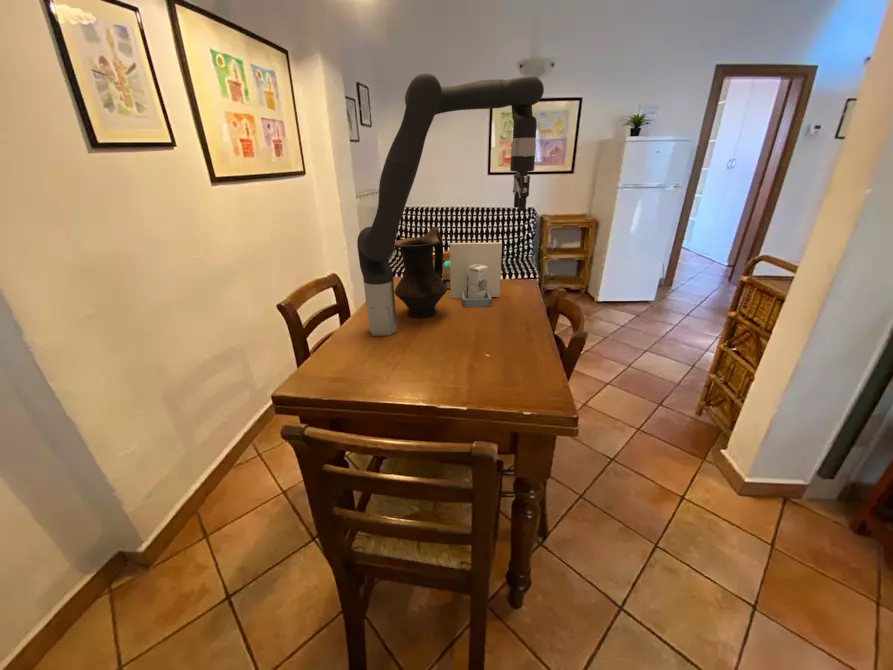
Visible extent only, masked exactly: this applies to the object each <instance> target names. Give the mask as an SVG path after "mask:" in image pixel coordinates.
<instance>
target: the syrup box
mask: <svg viewBox="0 0 893 670" xmlns="http://www.w3.org/2000/svg"><path fill="white" fill-rule="evenodd" d="M487 269H488V267H487V266H484V265H480V264H475V265H472V266H469V267H467V293H466V298H465V299H478V298H486V289H487Z"/></svg>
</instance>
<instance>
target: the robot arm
mask: <svg viewBox="0 0 893 670" xmlns="http://www.w3.org/2000/svg"><path fill="white" fill-rule="evenodd" d="M544 90H545V89H544V83H543V82H542V80H541V79H539V77H536V76H522V77H515V78H510V79H509V78H508V79H484V80H483V79H482V80H476V81H472V82H468V83H462V84H458V85H453V86H452V85H451V86H449V85H448V86H441V83H440V81H439V80H438V78H437V77H436V76H435V75H433V74H432V73H429V72H424V73H420V74H418V75H417V76H415V77H414V78H413V79H412V81H410V83H409V85H408V87H407V89H406V92H405V96H404V103H405V110H404V115H403V118H402V121H401V124H400V127H399V129H398V131H397V133H396V135H395V138H394V139H393V142H392V144H391V146H390V148H389V151H388V153H387V156H386V158H385V162H384V164H383V168H382V170H381V174H380V179H379V185H378V187H379V188H378V204H377V209H376V214H375V216H374V220H373V222H372V225H371V226H366V227H365V228H363V229H362V230H361V231H360V232H359V234H358V236H357V242H356V244H357V246H356V247H357V252H358V253H357V254H358V260H359V267H360V271H361V274H362V280H363V288H364V296H365V297H364V298H365V306H366V313H367V315H366V316H367V322H368V331H369V333H370V334H371V336H376V337H377V336H378V337H379V336H384V337H385V336H392V334H394V333H396V332H397V331H398V325H397V324H398V322H397V311H396V309H397V308H396V299H395V298H396V297H395V296H396V295H395V284H394V274H393V269H392V267H391V264H390V262H389V257H390V256H391V255H392V254H393V251H394V249H395V247H394V245H395V242H396V241H397V236H398V231H399V228H400V222H401V218H402V216H403V214H404V210H405V207H406V204H407V201H408V199H409V196H410V194H411V191H412V187H413V184H414V183H415V182H414V181H415V179H416V176H417V172H418V169H419V167H420V166H419V165H420V162H421V158H422V154H423V152H424V151H423V150H424V146H425V142H426V139H427V135H428V132H429V129H430V128H431V125H432V122H433V121H434V118H435V116H436V115H439V114H443V113H444V114H445V113H449V112H456V111H466V110H467V111H468V110H469V111H471V110H488V109H489V110H491V109H503V108H507V107H511V114H512V120H513V126H512V141H511V146H510V149H511V150H510V162H509V163H510V165H509V166H510V167H509V170H510V172H515V173H514V175H513V189H512V193H513V196H514V198H513V207H514V208H515V209H516V208H518V211H520V212H524V211H526V209H527V208H526V207H527V198H528V197H529V195H530V179H531V176H530V175H528V172H533V171H534V170H535V163H536V150H537V142H536V140H537V139H536V137H537V126H538V125H537V124H538V123H537V122H538V121H537V118H536V117H535V116H533V106H534V105H536V104H538V103H539V102H540V100H541V99H542V97H543V95H544Z"/></svg>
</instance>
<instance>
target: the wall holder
mask: <svg viewBox="0 0 893 670" xmlns="http://www.w3.org/2000/svg"><path fill="white" fill-rule="evenodd" d="M502 251H503V242H501V241H497V242H496V241H495V242H494V241H493V242H491V241H490V242H450V243H449V260H450V291H449V293H450V297H451V298H450V299H461V304H462V308H473V307H474V308H478V307H480V308H481V307H482V308H484V307H486V306H487V307H488V306H491V307H492V301H493V300H492V299H493V298H491V297H499V298H500V295H501V294H500V293H501V272H502V253H503V252H502ZM475 264H480V265H484V266H487V267H488V269H487V289H486V298H478V299H466V293H467V267H469V266H472V265H475ZM488 308H489V307H488Z"/></svg>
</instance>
